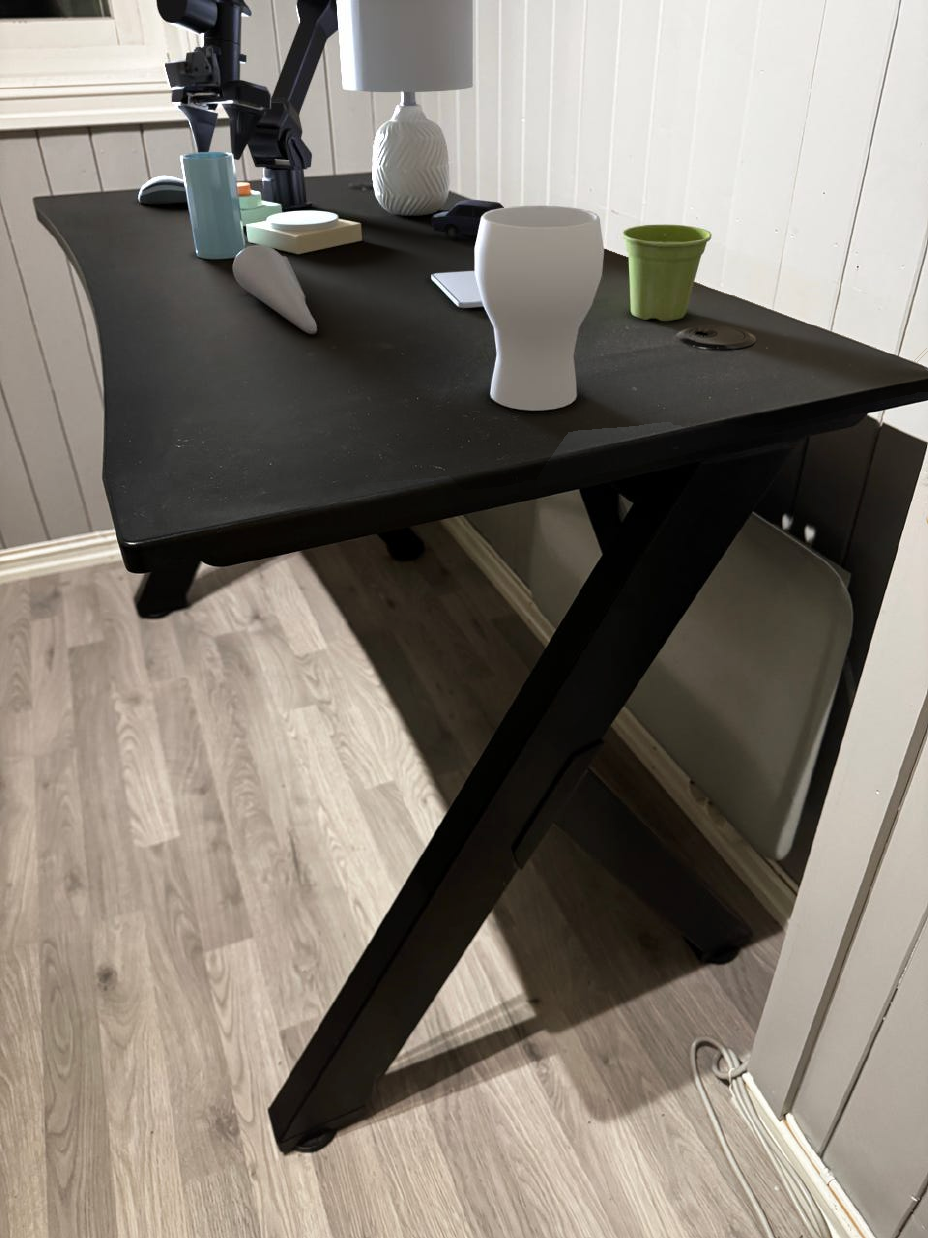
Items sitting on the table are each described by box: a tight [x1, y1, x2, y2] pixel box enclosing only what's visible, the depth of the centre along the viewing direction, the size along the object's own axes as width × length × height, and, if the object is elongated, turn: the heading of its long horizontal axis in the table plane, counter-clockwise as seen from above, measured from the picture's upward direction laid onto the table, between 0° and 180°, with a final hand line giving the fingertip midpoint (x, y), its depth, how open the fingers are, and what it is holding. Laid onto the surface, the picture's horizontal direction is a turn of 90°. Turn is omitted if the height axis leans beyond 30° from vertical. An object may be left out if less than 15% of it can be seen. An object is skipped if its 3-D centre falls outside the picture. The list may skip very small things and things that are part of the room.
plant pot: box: [621, 223, 713, 322], centre depth 99 cm, size 9×9×9 cm
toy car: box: [430, 199, 505, 240], centre depth 134 cm, size 6×15×5 cm, turn 62°
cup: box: [474, 204, 605, 412], centre depth 77 cm, size 11×11×15 cm
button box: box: [239, 189, 283, 227], centre depth 146 cm, size 10×8×4 cm
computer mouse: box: [138, 175, 188, 205], centre depth 161 cm, size 7×12×4 cm, turn 102°
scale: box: [245, 210, 363, 255], centre depth 133 cm, size 12×12×3 cm
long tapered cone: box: [232, 244, 318, 335], centre depth 102 cm, size 6×6×19 cm
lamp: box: [337, 0, 474, 217], centre depth 142 cm, size 20×20×37 cm
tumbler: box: [179, 151, 247, 260], centre depth 125 cm, size 7×7×12 cm
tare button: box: [237, 182, 252, 196], centre depth 145 cm, size 4×4×2 cm
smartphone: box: [430, 269, 484, 309], centre depth 110 cm, size 7×1×15 cm
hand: (218, 158), depth 141 cm, fingers open, 9 cm apart
